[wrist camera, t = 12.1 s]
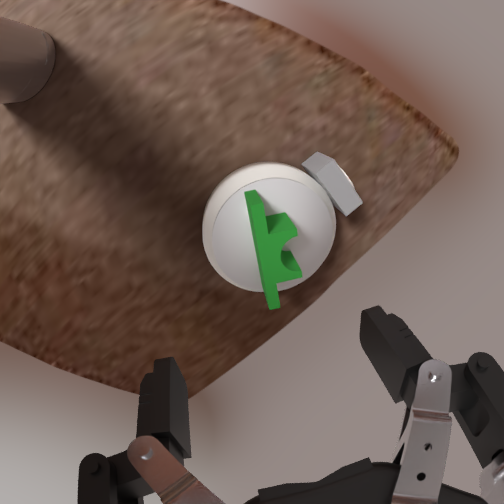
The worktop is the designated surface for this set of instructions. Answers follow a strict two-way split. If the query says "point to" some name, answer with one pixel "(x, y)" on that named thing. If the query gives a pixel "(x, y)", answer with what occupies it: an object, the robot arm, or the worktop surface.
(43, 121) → the worktop surface
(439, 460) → the robot arm
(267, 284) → the pipe clamp
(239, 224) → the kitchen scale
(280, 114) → the worktop surface
